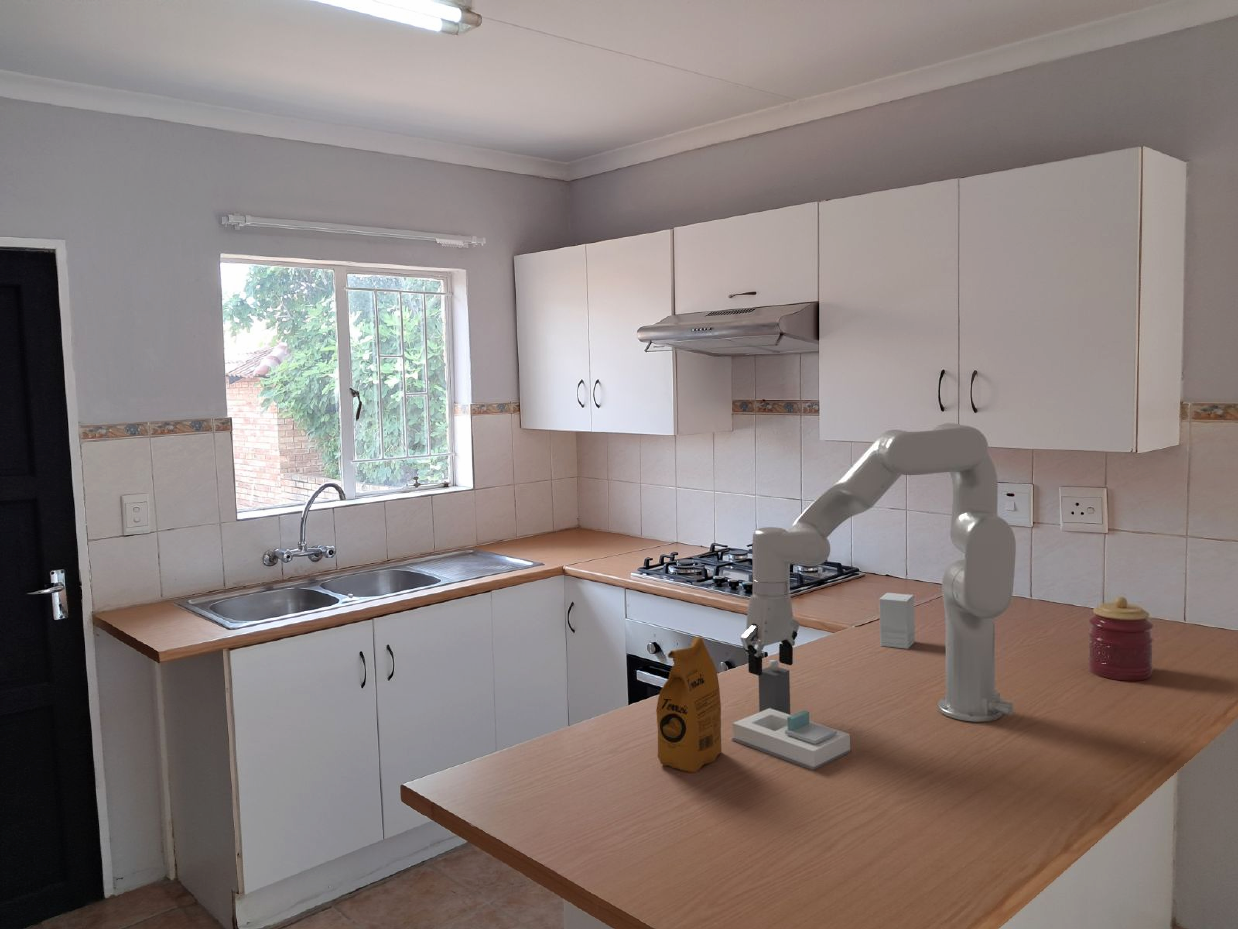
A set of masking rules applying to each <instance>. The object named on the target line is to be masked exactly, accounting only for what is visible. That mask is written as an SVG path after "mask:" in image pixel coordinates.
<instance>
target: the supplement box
mask: <svg viewBox="0 0 1238 929" xmlns="http://www.w3.org/2000/svg"><path fill="white" fill-rule="evenodd" d="M878 607H879V612H878V614H879V644H880V647H890V648H897V649H898V648H899V649H907V650H908V649H910V647H911V646H913V644H914V643H915V642H916V639H915V635H916V634H915V633H916V632H915V631H916V630H915V629H916V628H915V595H914V594H905V593H894V592H886V593H885V594H883V595H882V596H881V597H879V599H878Z"/></svg>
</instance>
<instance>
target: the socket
mask: <svg viewBox="0 0 1238 929" xmlns="http://www.w3.org/2000/svg"><path fill="white" fill-rule="evenodd" d="M792 715H793V714H792ZM792 715H791V714H790V715H789V714H786V713H783V712H780V711H777V710H774V709H770V708H769V709H766V710H764V711H761V712H757V713H754V714H752V715H749V716H747V717H746V716H745V717H744V718H741V719H738V720H737V721H734V722H733V723H732V738H731V741H732V742H735V743H738V744H741V745H743V746H746V747H748V748H751V749H754V750H756V751H760V752H761V753H765V754H767V755H770V756H773V757H774V758H775V757H776V758H778V759H781V760H784V761H786V762H789V763H791V764H794V765H796V766H798V767H799V766H800V767H801V768H805V769H806V770H807V769H808V770H811V771H814V770H817V769H819V768H821V767H822V766H823V767H824V765H827V764H829V763H831V762H832V761H836V760H837V759H839V758H841V757H843V756H845V755H847V754H849V753H851V752H852V748H851V734H850V733H848V732H846V731H845V732H844V731H842V730H838V729H836V728H832V727H829V726H827V725H826V726H825V725H823V724H820V723H817V722H813V721H810V720H809V722H811V723H814V724H817V725H820V726H823V727H827V728H830V729H833V730H836V731H837V734H836V735H834V736H832V737H830V738H827V739H825V740H823V741H821V742H819V743H817V744H813V743H810V742H807V741H805V740H802V739H799V738H796V737H793V736H790V735H787V734H785V730H788V721H787V717H789V716H792Z"/></svg>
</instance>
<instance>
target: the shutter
mask: <svg viewBox="0 0 1238 929" xmlns="http://www.w3.org/2000/svg"><path fill="white" fill-rule="evenodd" d="M787 721H788V730H785V734H787V735H790V736H793V737H796V738H799V739H802V740H805V741H807V742H810V743H813V744H817V743H819V742H821V741H823V740H825V739H827V738H830V737H832V736H834V735H836V734H837V731H836V730H837V729H836V730H833V729H834V728H833V729H830V728H831V727H829V728H827V727H828V726H826V727H823V726H824V725H823V726H820V725H821V724H820V725H817V724H818V723H817V724H814V723H815V722H814V723H811V722H812V721H811V722H809V721H810V711H807V710H805V709H804V710H801V711H799V712H796V713H795V714H792V716H789V717H787Z"/></svg>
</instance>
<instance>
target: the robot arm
mask: <svg viewBox="0 0 1238 929" xmlns="http://www.w3.org/2000/svg"><path fill="white" fill-rule="evenodd" d="M988 452H989V444H988V441H987V437H986V436H985V435H984V433H983V432H982V431H980V430H979V429H977V428H976V427H973V426H971V425H970V426H969V425H964V424H958V423H951V422H950V423H949V422H947V423H942V424H939V425H937V426H935V427H933V429H932V430H924V431H923V430H922V431H907V430H902V429H890V430H888V431H885V432H883V433H882V434H880V435H879V436H878V437H877V438H876V439H875V440H874V441H873V443H872V444H870V446H869V447H868V448H867V449H866V450H865V451H864V452H863V454H861V456H860V457H858V459H857V460H856V461H855V462H854V464H852V466H851V467H850V468H849V469H847V471H846V472H845V473H844V474H843V475H842V476H840V478H839V479H838V480H837V481H836V482H834V483H833V484H831V486H830V487H829V488H828V489H827V490H826V491H824V492H823V493H822V494H821V495H819V496H818V497H817V498H816V499H815V500H814V501H812V502H811V504H810V505H808V507H807V508H806V509H805V510H804V511H803V512H802V513H801V514H800V516H799V517H797V519H796V520H795V521H794V522H793V523H792V524H791V526H790V527H789V528H788V530H787V529H785V528H783V527H782V528H781V527H776V526H775V527H774V526H773V527H772V526H770V527H769V526H768V527H765V526H764V527H760V528H756V529H755V530H754V532H753V534H752V595H750V596H749V600H748V605H747V612H746V614H747V615H746V628H745V632H744V633H742V635H741V636H740V641H741V643H742V648H743V650H744V651H745V654H747V655H748V659H747V660H748V663H747V664H748V673H749V674H752V675H756V676H757V677H759V676H760V675H762V669H763V656H761V654H762V651H763V649H764V648H765V646H771V645H774V644H776V643H779V646H778V648H779V649H778V663H780V664H784V665H787V666H792V665H793V664H794V662H793V661H794V660H793V659H794V656H793V655H794V650H793V648H794V646H796V639H797V636H798V631H799V628H800V622H799V621H797V620H796V619H794V616H793V612H794V611H793V605H792V598H791V597H792V596H791V593H790V586H791V585H790V582H791V578H790V575H791V574H790V570H791V568H790V565H796V566H804V567H816V566H817V567H818V566H820V565H822V564H823V563H825V562H826V561H827V560H828V558H829V556H830V554H831V544H830V541H829V539H828V537H829V536H830V535H831V534H832V533H833V532H834V531H835V530H836V529H837V528H838V527H839V526H840V525H841V524H842V523H844V522H845V521H847V520H848V519H850V518H852V517H854V516H856V515H859V514H862V513H864V512H867V511H868V510H869V509H872V508H873V507H874V506H875V505H876V503H877V502H878V501H880V499H881V498H883V496H884V495H885V494H886V493H887V491H888V490H889V489H890V488H891V487H892V486H893V485H894V484H895V483H896V482H897V481H898V479H900V477H901V476H921V475H933V474H943V473H949V474H950V478H951V482H952V505H951V519H950V520H951V521H950V533H949V534H950V535H949V536H950V540H951V543H952V544H953V546H954V547H955V548H956V549H958V550H959V551H960V552H961V553H964V559H959V560H957V561H953V563H952V564H950V565H949V566H948V567H947V568H946V570H945V571H944V574H943V576H942V580H941V590H942V591H941V592H942V599H943V606H944V616H945V618H944V620H945V623H944V624H945V697H943V698H941V699H940V700H939V701H938V703H937V709H938V711H939V712H941V714H943V715H945V716H947V717H949V718H952V719H956V720H960V721H966V722H978V723H979V722H980V723H981V722H991V721H996V720H998V719H1000V718H1002V716H1003V714H1004V715H1007V716H1012V714H1013V712H1014V711H1013V710H1014V706H1013V702H1011V701H1008V700H1002V698H1001V692H1000V691H996V624H995V622H996V621H995V618H997V617H1000V616H1001V615H1002V614H1003V613H1005V612H1006V610H1008V607H1009V606H1010V604H1011V600H1012V597H1013V592H1014V581H1015V568H1016V567H1015V566H1016V555H1017V554H1016V552H1017V546H1016V545H1017V544H1016V543H1017V542H1016V537H1015V533H1014V531H1013V529H1012V527H1011V525H1010V524H1009V523H1008V522H1007V520H1005V519H1003V518H1002V517H1001V516H999V515H998V502H999V500H998V498H999V497H998V496H999V495H998V494H999V493H998V491H999V490H998V489H999V486H998V484H999V483H998V475H997V471H996V467H995V464H994V462H993V460H992V457H991V456H990V454H989V453H988ZM756 646H757V647H756ZM755 647H756V648H755Z"/></svg>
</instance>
